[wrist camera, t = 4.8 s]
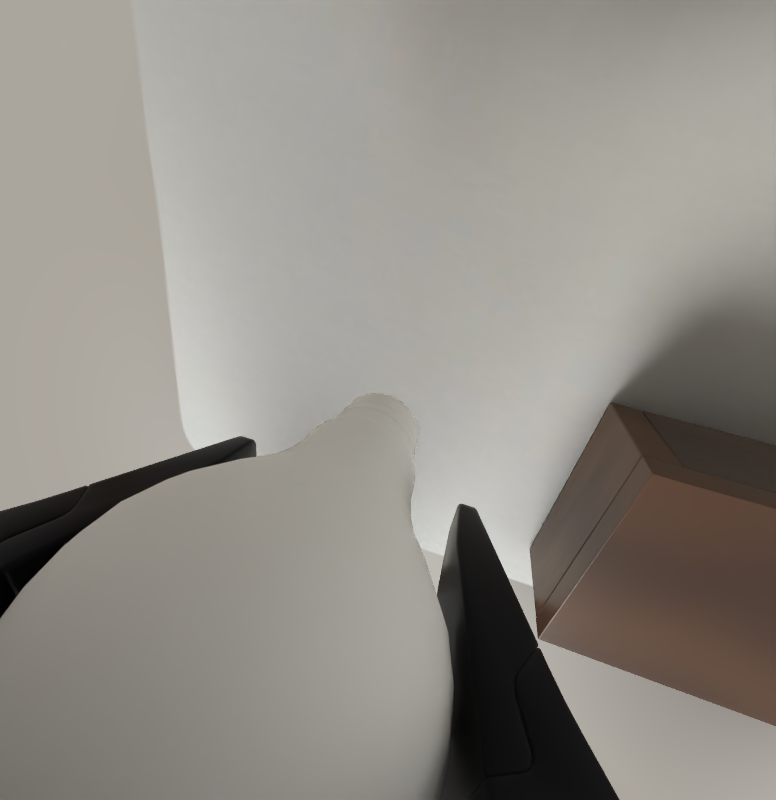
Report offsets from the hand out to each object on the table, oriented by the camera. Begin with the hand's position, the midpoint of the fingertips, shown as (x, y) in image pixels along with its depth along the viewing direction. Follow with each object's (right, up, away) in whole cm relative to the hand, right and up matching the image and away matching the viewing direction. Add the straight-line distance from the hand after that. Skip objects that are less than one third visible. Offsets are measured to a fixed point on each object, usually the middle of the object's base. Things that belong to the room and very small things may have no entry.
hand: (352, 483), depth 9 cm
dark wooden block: (+20, -6, +11) cm, 24 cm away
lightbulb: (+1, +2, +3) cm, 4 cm away
